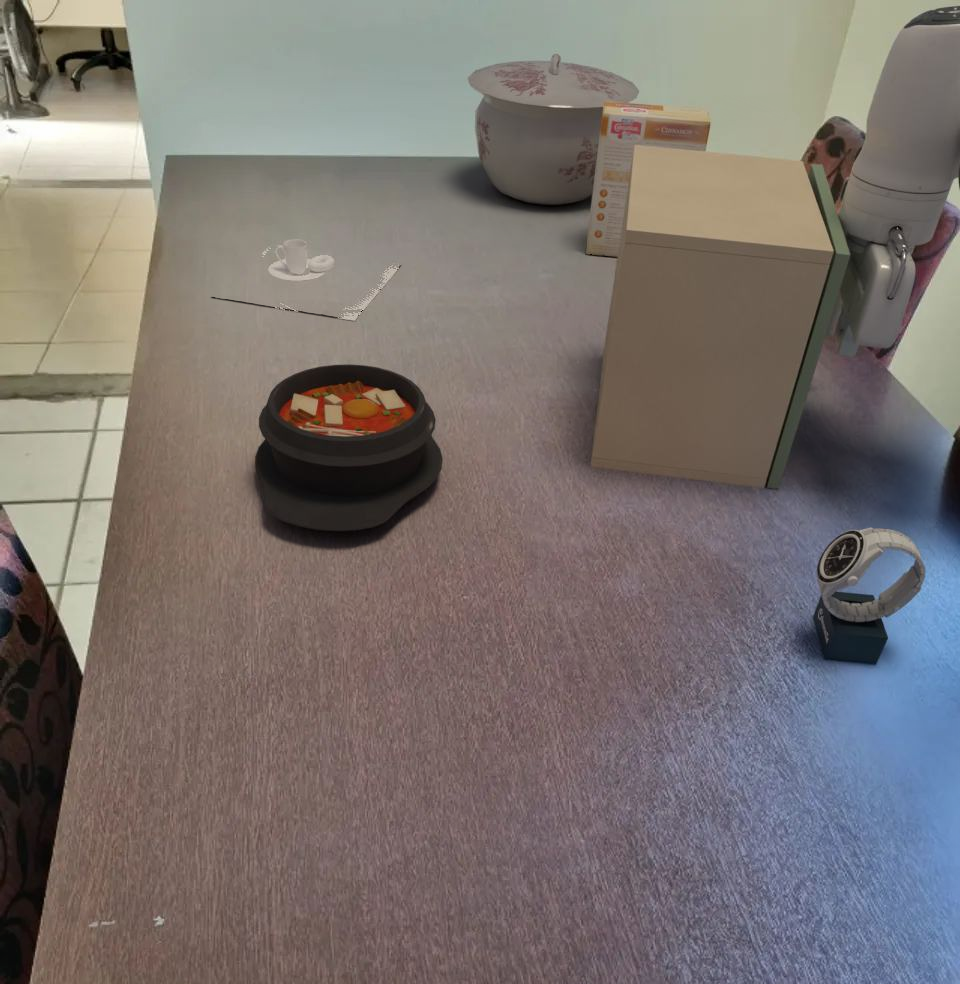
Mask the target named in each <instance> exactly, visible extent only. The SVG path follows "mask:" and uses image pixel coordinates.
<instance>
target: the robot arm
mask: <svg viewBox="0 0 960 984" xmlns="http://www.w3.org/2000/svg"><path fill="white" fill-rule="evenodd" d="M865 127H866V129H865V130H866V131H865V137H864V138H865V139H864V142H863V145H862V147H861V150H860V151H859V154H857V155H858V156H857V157H856V159H855V160H854V162H853V164H852V167H851V170H850V173H849V176H847V177H846V178H845V179H844V182H843V185H842V188H841V192H840V197H839V198H840V206H839V211H838V217H839V220H840V223H841V226H842V229H843V233H844V236H845V239H846V242H847V246H848V249H849V252H850V258H849V261H848V264H847V268H846V271H845V274H844V278H843V281H842V284H841V287H840V291H839V295H840V298H841V301H842V305H841V312H840V316H839V319H838V327H837V332H836V334H835V338H834V343H835V346H836V350H837V354H838V355H839V356H840V357H846V358H852V357H855V356H856V354H857V352H858V350H859V346H862V347H867V348H878V349H889V348H891V347H892V346H893V344H894V343H895V342H896V340H897V338H898V336H899V333H900V330H901V327H902V324H903V321H904V319H905V316H906V315H905V314H906V311H907V308H908V305H909V301H910V299H911V295H912V291H913V289H914V283H915V279H916V268H917V267H916V264H915V261H914V258H913V257H912V254H913V253H914V249H915V246H921V245H924V244H927V243H929V242H930V241H931V240H932V239H933V237H934V235H935V232H936V229H937V226H938V224H939V221H940V218H941V215H942V213H943V210H944V207H945V205H946V202H947V200H948V196H949V194H950V192H951V189H952V185H953V183H954V180H955V179H957V180H958V188H959V190H960V5H954V6H953V5H952V6H945V7H938V8H935V9H929V10H926V11H924V12H922V13H920V14H918V15H916V16H915V17H913V18H912V19H911V20H910V21H908V22H907V23H906V24H905V25H904V26H903V27H902V28H901V30H899V32H898V34H897V35H896V37H895V39H894V42H893V43H892V45H891V48H890V49H889V52H888V54H887V56H886V59H885V62H884V64H883V67H882V69H881V72H880V75H879V78H878V81H877V83H876V87H875V90H874V93H873V96H872V99H871V103H870V106H869V108H868V113H867V117H866V125H865Z"/></svg>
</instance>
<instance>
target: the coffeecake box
mask: <svg viewBox="0 0 960 984" xmlns="http://www.w3.org/2000/svg"><path fill="white" fill-rule="evenodd" d="M709 113H710V111H709V108H702V107H701V108H699V107H688V106H687V107H686V106H674V105H673V106H671V105H661V104H660V105H659V104H646V103H637V102H636V103H635V102H628V103H623V102H611V101H604V106H603V113H602V120H601V128H600V137H599V145H598V153H597V161H596V169H595V177H594V186H593V194H592V195H591V204H590V211H589V219H588V230H587V237H586V239H587V240H586V249H585V250H586V251H585V252H586V253H585V254H586V255H590V254H592V255H593V256H603V255H604V257H616V258H618V251H619V244H620V237H621V231H622V224H623V217H624V210H625V203H626V197H627V190H628V183H629V176H630V169H631V163H632V156H633V149H634V145H644V146H654V147H664V148H674V149H685V150H695V151H705V152H707V145H708V142H709V141H708V140H709V136H710V129H711V123H712V121H711V117H710V114H709Z"/></svg>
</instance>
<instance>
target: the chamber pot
mask: <svg viewBox="0 0 960 984" xmlns="http://www.w3.org/2000/svg"><path fill="white" fill-rule="evenodd" d="M561 60H562V57H561V56H560V54H558V53H554V54H552V55H551V58H550V60H520V61H519V60H518V61H515V60H514V61H507V62H500V63H495V64H491V65H488V66H484V67H481V68H479V69H475V70H474V71H473V72H472V73H470V75H469V76H468V77H467V81H468V84H469V86H470V87H471V88H472V89H473V90H475V91H477V93H480V94H481V95H483V97H482V98H481V100H480V102H479V104H478V106H477V108H476V109H475V114H474V131H475V132H474V134H475V141H476V147H477V153H478V157H479V160H480V162H481V164H482V166H483V169H484V170H485V172H486V175H487V177H488V178H489V180H490V183H491V184H492V185H493V187H494V188H495V189H497V190H498V191H499V192H500V193H501V194H503V195H506V196H508V197H510V198H512V199H515V200H517V201H520V202H523V203H527V204H531V203H532V204H531V205H538V204H540V206H563V204H564V205H568V204H572V203H577V202H579V201H584V200H586V199H587V198H590V197H592V194H593V186H594V177H595V169H596V161H597V153H598V145H599V137H600V128H601V120H602V113H603V106H604V101H611V102H623V103H631V102H633V101H634V100H636V99H637V98H638V95H639V93H640V90H639V88H638V87H637V86H636V85H635V83H633V81H631V80H629V79H627V78H625V77H623V76H621V75H618V74H616V73H614V72H612V71H609V70H604V69H601V68H598V67H593V66H588V65H583V64H577V63H572V62H564V61H561Z"/></svg>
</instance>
